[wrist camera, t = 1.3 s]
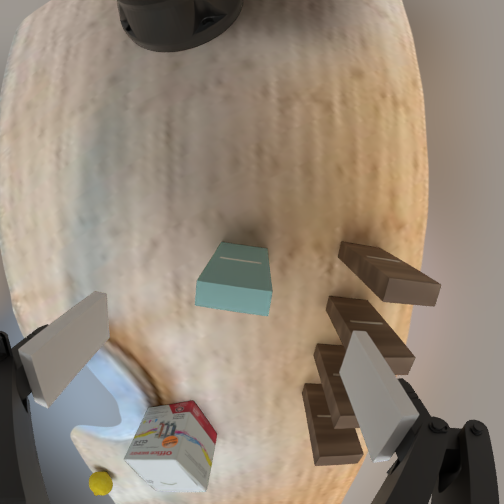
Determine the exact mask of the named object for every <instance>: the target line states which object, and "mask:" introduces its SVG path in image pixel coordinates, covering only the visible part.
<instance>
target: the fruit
mask: <svg viewBox="0 0 504 504" xmlns="http://www.w3.org/2000/svg"><path fill="white" fill-rule="evenodd" d="M89 487H90V488H91V490H92V491H93V492H94V495H96V496H97V495H106V494H108V493H109V492H110V491H111V490H112V487H113V482H112V479H111V478H110V476H109V475H108V473H107V472H105V471H103V472H95V473H93V474H92V475H91V476H90V478H89Z"/></svg>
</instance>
